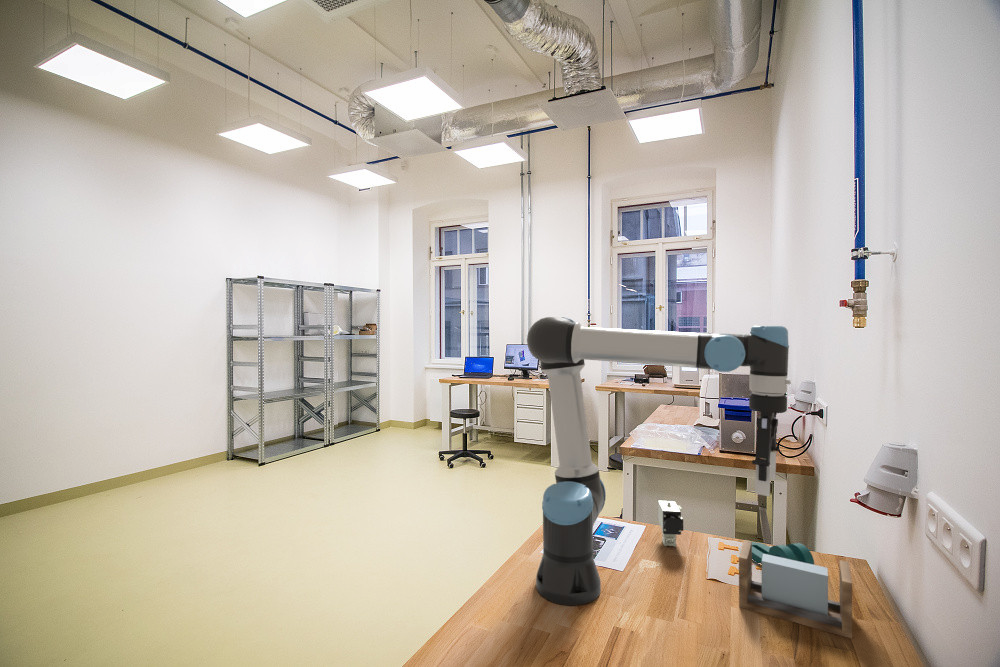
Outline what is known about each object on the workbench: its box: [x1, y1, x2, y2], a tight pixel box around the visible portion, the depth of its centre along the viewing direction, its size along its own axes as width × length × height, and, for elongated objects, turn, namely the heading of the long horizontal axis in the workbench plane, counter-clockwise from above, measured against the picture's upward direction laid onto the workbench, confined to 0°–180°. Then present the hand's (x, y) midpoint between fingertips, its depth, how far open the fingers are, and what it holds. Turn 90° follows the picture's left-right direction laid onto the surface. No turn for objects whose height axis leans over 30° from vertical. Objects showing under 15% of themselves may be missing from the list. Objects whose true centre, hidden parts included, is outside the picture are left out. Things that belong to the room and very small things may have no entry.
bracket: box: [752, 541, 815, 565], centre depth 122 cm, size 18×7×8 cm, turn 11°
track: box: [738, 539, 853, 639], centre depth 103 cm, size 20×10×11 cm, turn 57°
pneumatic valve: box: [657, 499, 684, 547], centre depth 134 cm, size 6×12×12 cm, turn 170°
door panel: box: [761, 554, 829, 615], centre depth 103 cm, size 12×4×9 cm, turn 57°
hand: (765, 486), depth 108 cm, fingers open, 13 cm apart
